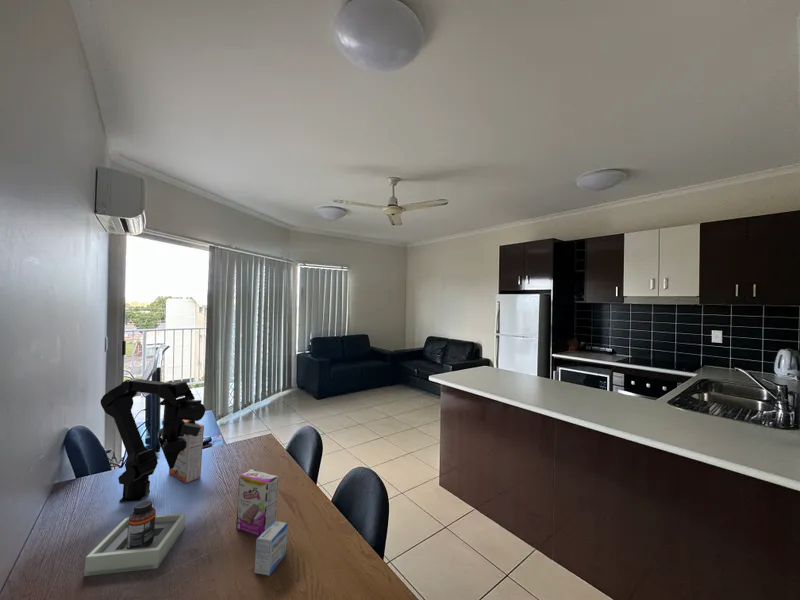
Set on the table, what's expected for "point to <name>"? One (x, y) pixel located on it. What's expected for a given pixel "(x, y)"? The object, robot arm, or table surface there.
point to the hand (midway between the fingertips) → (169, 463)
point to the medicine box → (270, 548)
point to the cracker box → (189, 458)
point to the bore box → (120, 559)
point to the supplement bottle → (141, 525)
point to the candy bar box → (256, 501)
